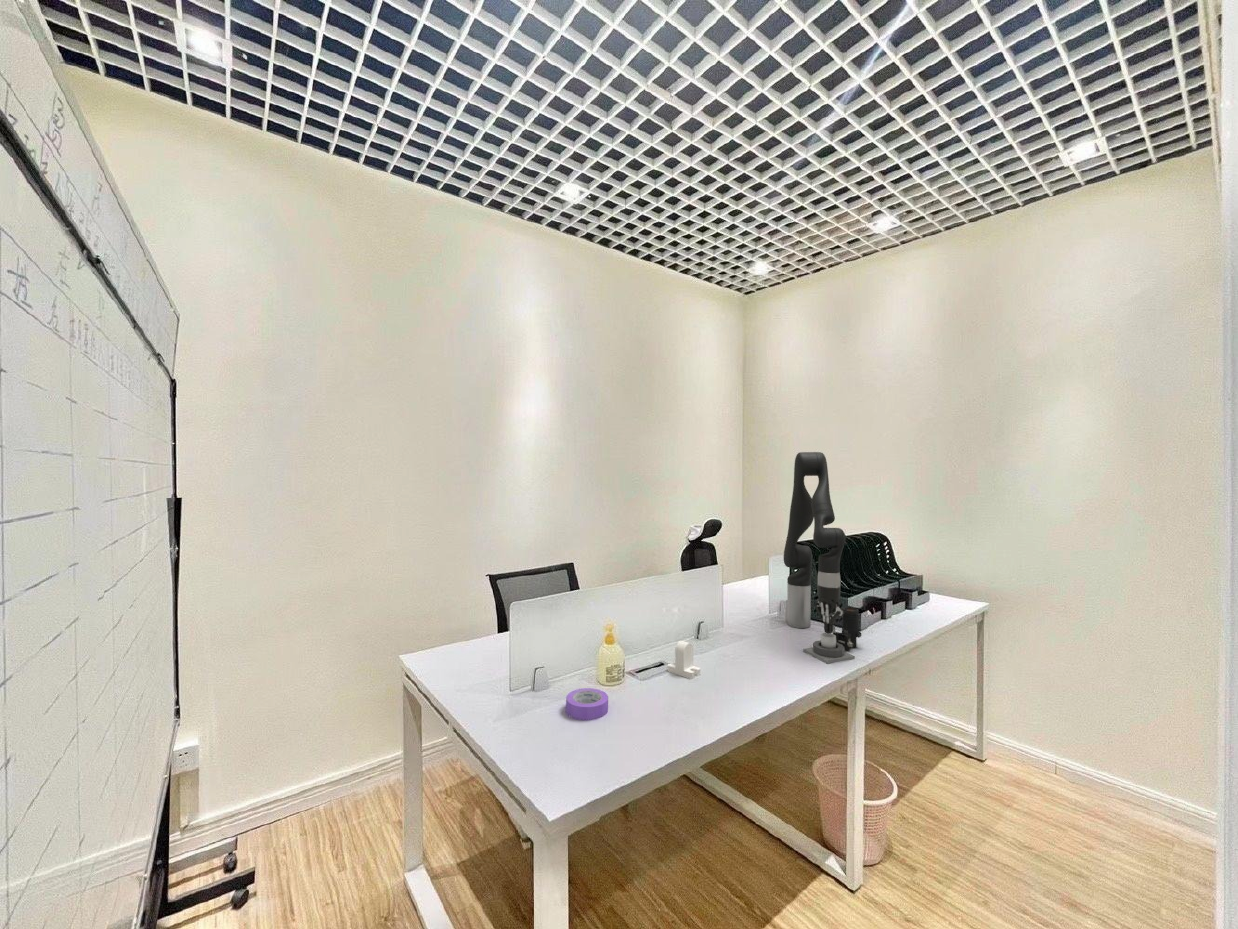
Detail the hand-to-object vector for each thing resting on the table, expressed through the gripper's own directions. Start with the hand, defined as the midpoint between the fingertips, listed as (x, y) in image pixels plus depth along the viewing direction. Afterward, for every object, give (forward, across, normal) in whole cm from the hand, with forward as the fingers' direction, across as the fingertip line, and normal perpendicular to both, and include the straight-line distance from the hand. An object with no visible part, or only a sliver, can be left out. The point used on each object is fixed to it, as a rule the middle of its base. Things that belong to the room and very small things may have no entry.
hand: (828, 632), depth 185 cm
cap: (+7, 0, 0) cm, 7 cm away
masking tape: (+8, +8, -92) cm, 93 cm away
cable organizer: (+8, -5, -55) cm, 56 cm away
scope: (+8, -4, +13) cm, 16 cm away
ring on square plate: (+8, 0, 0) cm, 8 cm away
